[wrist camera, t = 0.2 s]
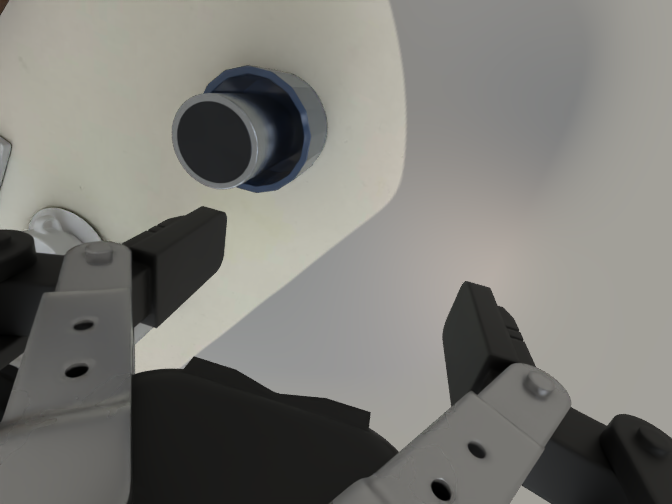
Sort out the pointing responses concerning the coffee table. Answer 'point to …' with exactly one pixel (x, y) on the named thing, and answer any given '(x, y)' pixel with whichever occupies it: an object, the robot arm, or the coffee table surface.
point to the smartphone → (3, 156)
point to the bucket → (305, 102)
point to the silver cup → (235, 135)
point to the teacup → (59, 231)
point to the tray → (2, 5)
